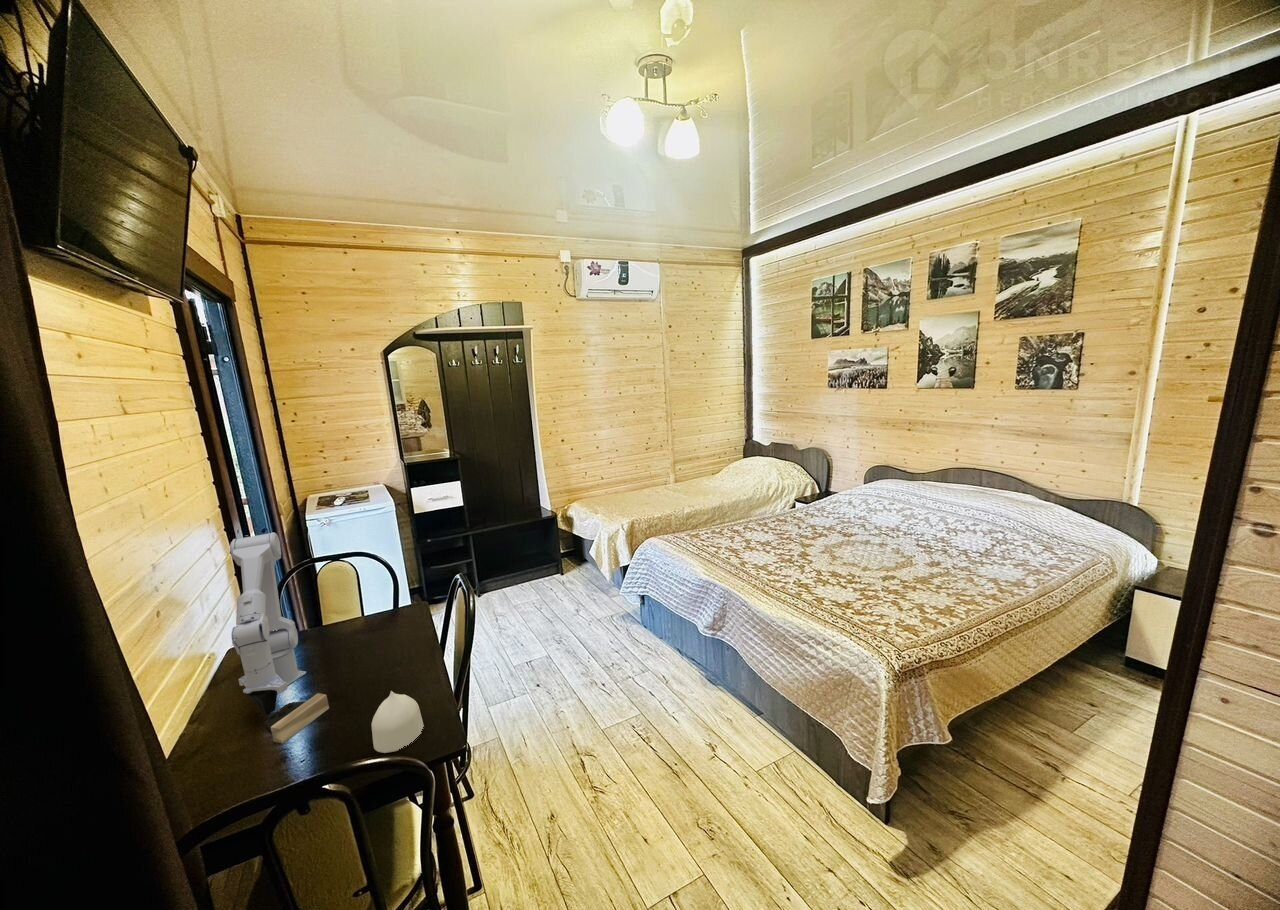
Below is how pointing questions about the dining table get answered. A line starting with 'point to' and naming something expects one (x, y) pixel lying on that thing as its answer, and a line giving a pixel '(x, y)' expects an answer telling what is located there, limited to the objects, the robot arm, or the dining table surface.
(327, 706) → the bench stop
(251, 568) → the robot arm
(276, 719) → the gaming controller
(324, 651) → the dining table surface
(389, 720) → the teardrop
